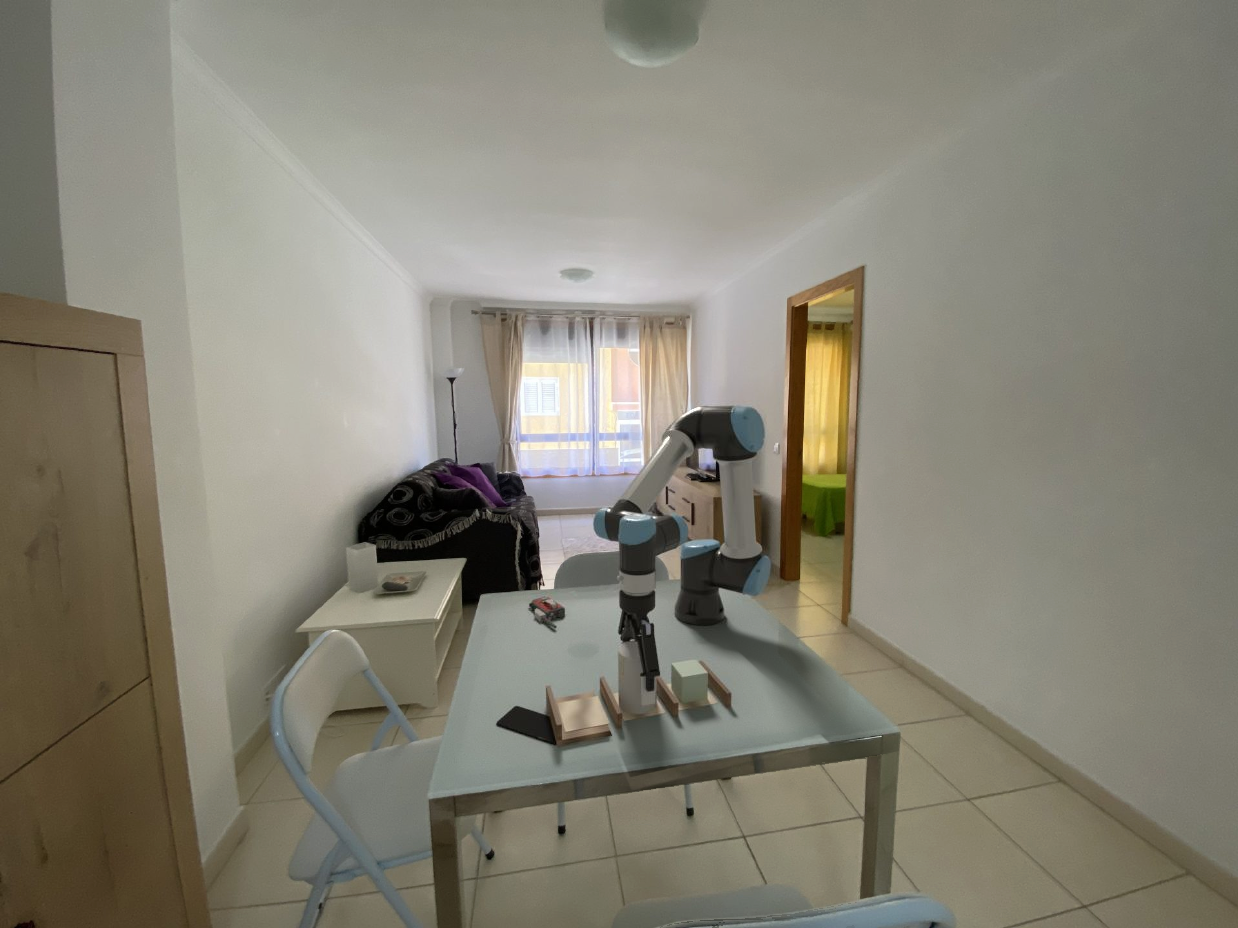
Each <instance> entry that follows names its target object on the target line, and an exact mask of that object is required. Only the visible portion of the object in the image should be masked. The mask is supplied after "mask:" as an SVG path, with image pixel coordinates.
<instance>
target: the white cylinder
mask: <svg viewBox="0 0 1238 928" xmlns="http://www.w3.org/2000/svg"><path fill="white" fill-rule="evenodd" d="M617 653H618V654H617V656H618V657H617V667H618V668H617V671H618V672H617V673H618V674H617V675H618V678H617V679H618V682H617V683H618V685H617V686H618V692H617V693H618V696H619V706H620V708H621V709H622V710H624V711H625V712H628V713H631V714H645V713H648V712H651V711H652V710H653V709H654V708H655V707H656V705H657V700H658V697H657V696H658V695H657V694H658V693H657V676H656V677H655V704H649V705H644V706H642V704H641V676H640V674H641V673H643V669H642V665H641V660H640V655H639V650H638V645H637V642H636V641H634V640H630V641H629V642H625V643H623V644H621V643H620V645H619V646H618V648H617Z"/></svg>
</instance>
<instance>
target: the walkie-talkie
mask: <svg viewBox="0 0 1238 928" xmlns="http://www.w3.org/2000/svg"><path fill="white" fill-rule="evenodd" d="M528 606H529V608H530V609H531V610H532V611H533V612H534V618H535V619H536V620H537V621H538V622H539V623H541V622H544V623H545V624H547V625H549V626H550V627H552V628H553V629H557V625H556V624H555V623H553V622H552V620H554V619H558V618H563V617H565V615H566V608H565V607H564V606H563V605H561V604H559V603H558V602H556V601H555V600H554V599H552V598H550V597H549V596H543V597H539V598H534V599H533V600H532V601H531V602H529V603H528Z"/></svg>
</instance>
